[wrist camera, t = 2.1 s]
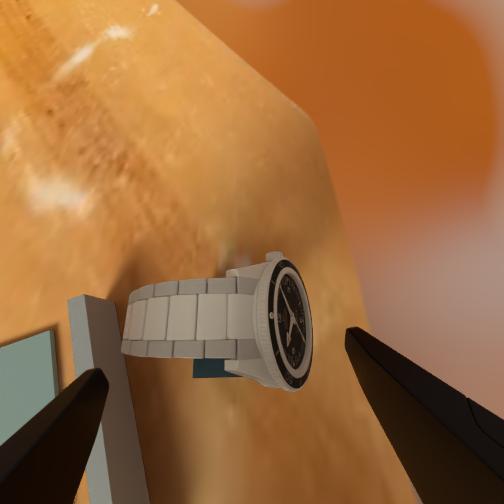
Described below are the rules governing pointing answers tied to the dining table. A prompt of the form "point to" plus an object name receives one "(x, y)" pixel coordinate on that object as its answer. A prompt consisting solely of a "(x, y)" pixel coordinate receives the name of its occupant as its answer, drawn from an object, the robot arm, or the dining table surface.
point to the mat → (26, 380)
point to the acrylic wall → (108, 405)
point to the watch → (228, 324)
